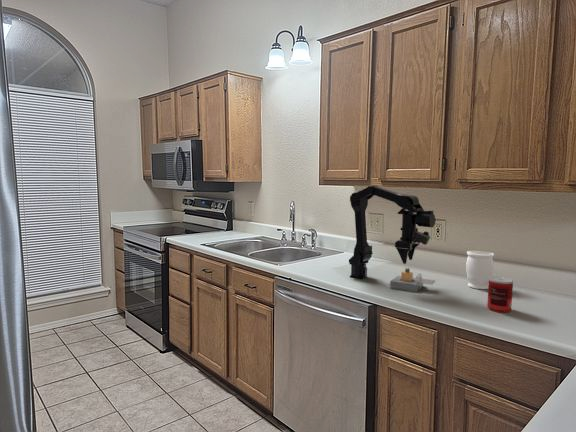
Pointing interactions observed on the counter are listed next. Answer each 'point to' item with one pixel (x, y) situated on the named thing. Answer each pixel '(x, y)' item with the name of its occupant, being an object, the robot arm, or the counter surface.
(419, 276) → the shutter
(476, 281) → the jar
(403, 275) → the plug
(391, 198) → the robot arm
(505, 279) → the canned food
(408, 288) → the socket
